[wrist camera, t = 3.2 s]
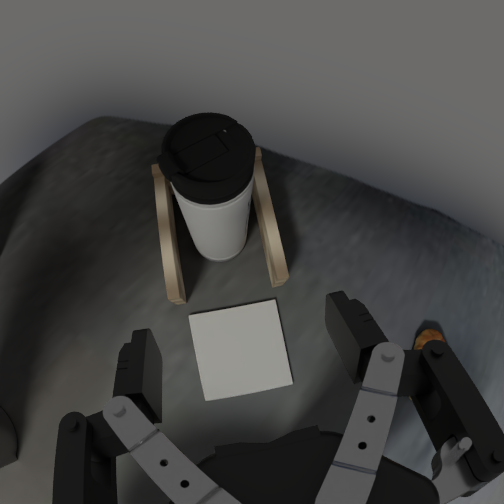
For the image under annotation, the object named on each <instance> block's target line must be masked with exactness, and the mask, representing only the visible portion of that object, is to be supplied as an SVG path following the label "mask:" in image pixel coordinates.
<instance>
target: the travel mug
mask: <svg viewBox="0 0 504 504" xmlns="http://www.w3.org/2000/svg"><path fill="white" fill-rule="evenodd" d="M255 155H256V147H255V144H254V141H253V139H252V136H251V135H250V133H249V132H248V130H247V129H246V128H244V127H243V126H242V125H240V124H238V123H237V121H236V120H234V119H232V118H231V117H229V116H227V115H223V114H219V113H199V114H195V115H191V116H188V117H185V118H184V119H182V120H180V121H178V122H177V123H176V124H174V125H173V126H172V127H171V128H170V129H169V131H168V132H167V133H166V135H165V137H164V139H163V143H162V154H161V155H160V156H158V157H157V162H158V166H159V169H160V170H161V172H162V174H163V175H164V176H165V178H166V179H167V180H169V181H170V183H171V185H172V188H173V190H174V193H175V196H176V198H177V201H178V203H179V206H180V209H181V211H182V214H183V216H184V219H185V221H186V224H187V226H188V229H189V231H190V234H191V236H192V239H193V241H194V244H195V246H196V248H197V250H198V252H199V253H200V254H201V255H202V256H203V257H205V258H206V259H208V260H211V261H214V262H226V261H229V260H231V259H233V258H235V257H236V256H237V255H239V254H240V252H241V251H242V250H243V248H244V246H245V243H246V237H247V228H248V220H249V211H250V203H251V195H252V187H253V178H254V169H255V165H254V163H255Z"/></svg>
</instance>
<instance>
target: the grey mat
mask: <svg viewBox="0 0 504 504" xmlns="http://www.w3.org/2000/svg"><path fill="white" fill-rule="evenodd" d="M189 321H190V326H191V332H192V337H193V343H194V348H195V353H196V358H197V363H198V368H199V373H200V378H201V382H202V387H203V392H204V396H205V401H209V400H215V399H221V398H227V397H233V396H239V395H244V394H249V393H254V392H259V391H264V390H269V389H273V388H278V387H282V386H287V385H291V384H293V382H292V377H291V373H290V368H289V363H288V358H287V353H286V348H285V344H284V339H283V334H282V329H281V324H280V320H279V315H278V310H277V305H276V301H275V300H270V301H265V302H260V303H255V304H250V305H245V306H239V307H234V308H229V309H223V310H218V311H212V312H206V313H201V314H195V315H189Z"/></svg>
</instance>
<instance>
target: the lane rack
mask: <svg viewBox="0 0 504 504" xmlns="http://www.w3.org/2000/svg"><path fill="white" fill-rule="evenodd" d="M261 158H262V154H261V150H260V147H256V155H255V163H254V165H255V169H254V178H253V187H252V197H253V202H254V206H255V211H256V215H257V220H258V224H259V229H260V233H261V238H262V243H263V247H264V252H265V256H266V261H267V266H268V270H269V275H270V280H271V284H272V287H276V286H281V285H283V284H284V283H285V282H286V280H287V279H288V278H289V274H288V270H287V265H286V261H285V257H284V252H283V248H282V244H281V239H280V235H279V231H278V227H277V222H276V218H275V214H274V210H273V206H272V202H271V197H270V193H269V189H268V185H267V181H266V177H265V173H264V169H263V165H262V161H261ZM151 166H152V175H153V177H154V185H155V196H156V207H157V217H158V227H159V236H160V244H161V252H162V260H163V268H164V275H165V282H166V289H167V295H168V300H170V301H171V302H173V303H175V304H176V305H178V304H184V303H187V301H186V295H185V289H184V283H183V276H182V270H181V263H180V256H179V249H178V242H177V235H176V227H175V219H174V211H173V202H172V195H173V194H175V193H174V190H173V188H172V185H171V183H170V181H169V180H167V179H166V178H165V176H164V175H163V174H162V172H161V170H160V169H159V166H158V164H154V165H151Z"/></svg>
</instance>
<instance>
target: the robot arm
mask: <svg viewBox="0 0 504 504" xmlns="http://www.w3.org/2000/svg"><path fill="white" fill-rule="evenodd" d="M325 323H326V327H327V330H328V333H329V335H330V337H331V339H332V341H333V343H334V345H335V347H336V349H337V350H338V352H339V354H340V356H341V358H342V360H343V363H344V365H345V367H346V369H347V371H348V373H349V375H350V377H351V379H352V381H353V383H354V384H355V383H359V382H362V383H363V384H362V387H361V389H360V391H359V394H358V397H357V400H356V403H355V406H354V409H353V412H352V414H351V417H350V420H349V423H348V425H347V428H346V430H345V433H344V435H342V434H339V433H336V432H330V431H319V429H318V426H317V425H316V426H312V427H309V428H305V429H301V430H297V431H293V432H291V433H289V434H287V435H285V436H283V437H281V438H278V439H276V440H274V441H272V442H270V443H235V444H229V445H223V446H216V447H215V452H216V453H215V454H212V455H210V456H208V457H206V458H205V459H203V460H202V461H201V462H200V463H198V464H197V465H194V464H193V463H192V462H191V461H190V460H189V459H188V458H187V457H186V456H185V455H184V454H183V453H182V452H181V451H180V450H179V449H178V448H177V447H176V446H175V445H174V444H173V443H172V442H171V441H170V440H169V439H168V438H167V437H166V436H165V435H164V434H163V433H162V432H161V431H160V430H159V429H157V428H156V427H155V426H154V423H162V356H161V353H160V350H159V348H158V346H157V343H156V341H155V339H154V336H153V334H152V332H151V330H150V329H149V328H148V329H141V330H135V331H133V333H132V340H131V343H125V344H124V345H123V347H122V349H121V350H120V352H119V357H118V363H117V371H116V376H115V383H114V390H113V397H112V399H110V400H109V401H108V402H107V403H106V404H105V406H104V408H103V410H102V411H101V412H98V413H96V414H93V415H90V416H87V417H85V416H84V415H83V414H81V413H79V412H71V413H68V414H67V415H65V416H64V417H63V418H62V420H61V421H60V424H59V430H58V438H57V446H56V456H55V467H54V480H53V501H52V504H117V484H116V456H119V455H122V454H124V453H127V452H129V453H130V454H131V455H132V456H133V458H134V459H135V460H136V461H137V462H138V464H139V465H140V466H141V467H142V468H143V470H144V471H145V472H146V473H147V474H148V475H149V476H150V478H151V479H152V480H153V481H154V482H155V483H156V484H157V485H158V486H159V487H160V489H161V490H162V491H163V492H164V493H165V494H166V495H167V496H168V497H169V498H170V499H171V501H170V502H169V504H447V503H449V502H451V501H452V500H454V499H456V498H458V497H460V496H461V497H468V496H471V495H472V494H474V493H475V492H477V491H478V490H480V489H481V488H482V487H484V486H485V485H487V484H488V483H489V482H491V481H492V480H493V479H495V478H496V477H497V476H499V475H500V474H501V473H503V472H504V434H503V432H502V430H501V428H500V426H499V425H498V423H497V421H496V419H495V418H494V416H493V414H492V412H491V411H490V409H489V407H488V406H487V404H486V402H485V401H484V399H483V397H482V396H481V394H480V392H479V391H478V389H477V388H476V386H475V384H474V383H473V381H472V380H471V378H470V377H469V375H468V374H467V372H466V370H465V369H464V367H463V366H462V364H461V363H460V361H459V360H458V358H457V357H456V355H455V354H454V352H453V351H452V349H451V348H450V347H449V345H448V344H447V343H445V342H443V341H441V340H430V341H427V342H426V343H425V344H424V345H423V348H422V349H417V350H403V349H402V348H401V347H400V346H399V345H397V344H395V343H391V342H389V341H388V339H387V338H386V336H385V335H384V333H383V332H382V330H381V329H380V327H379V326H378V324H377V323H376V321H375V320H374V319H373V317H372V316H371V314H369V311H368V310H367V308H366V307H365V305H364V304H362V303H361V302H359V301H358V300H356V299H352V300H349V299H348V297H347V296H346V294H345V293H344V291H338V292H334V293H329V294H327V295H326V308H325ZM400 396H410V397H411V399H412V401H413V403H414V405H415V407H416V410H417V412H418V414H419V416H420V418H421V420H422V422H423V424H424V426H425V428H426V430H427V432H428V434H429V437H430V439H431V441H432V443H433V445H434V447H435V450H436V452H437V453H436V454H435V455H434V457H433V459H432V462H431V467H432V471H433V476H432V480H430V479H428V478H427V477H425V476H423V475H421V474H419V473H417V472H415V471H413V470H411V469H409V468H407V467H404V466H402V465H400V464H398V463H396V462H394V461H392V460H390V459H388V458H387V457H385V456H383V455H382V453H383V450H384V446H385V443H386V440H387V436H388V433H389V429H390V425H391V422H392V418H393V414H394V410H395V406H396V402H397V397H400ZM16 450H17V436H16V433H15V429H14V427H13V424H12V422H11V421H10V419H9V417H8V416H7V414H6V413H5V412H4V410H3V409H2V408H1V407H0V468H2V467H4V466H6V465H8V464H11V463H13V462H15V461H17V458H16Z"/></svg>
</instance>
